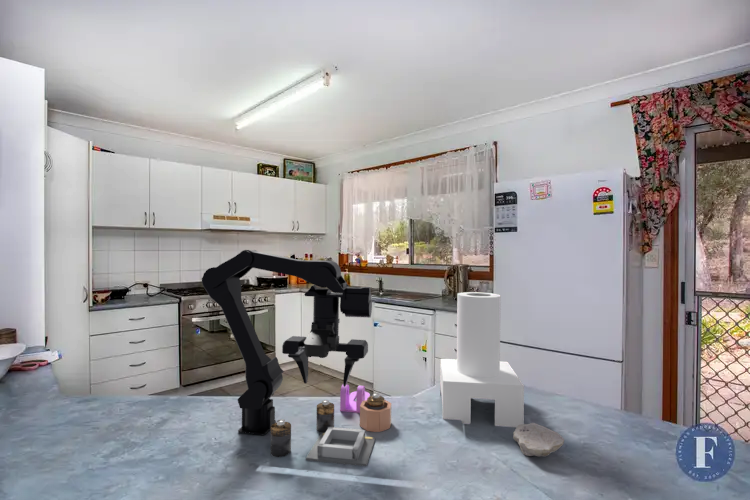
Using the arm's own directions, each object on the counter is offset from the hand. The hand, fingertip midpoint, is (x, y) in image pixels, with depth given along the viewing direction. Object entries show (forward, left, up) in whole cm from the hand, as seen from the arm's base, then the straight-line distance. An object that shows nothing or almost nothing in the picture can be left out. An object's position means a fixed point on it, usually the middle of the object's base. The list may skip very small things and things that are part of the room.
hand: (325, 384), depth 86 cm
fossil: (+46, 0, -11) cm, 47 cm away
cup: (+11, +4, -11) cm, 16 cm away
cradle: (+6, -8, -11) cm, 15 cm away
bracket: (+4, +16, -11) cm, 20 cm away
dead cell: (+11, +4, -10) cm, 15 cm away
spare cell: (-6, -11, -11) cm, 17 cm away
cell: (0, 0, -11) cm, 11 cm away
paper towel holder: (+36, +19, -11) cm, 42 cm away
